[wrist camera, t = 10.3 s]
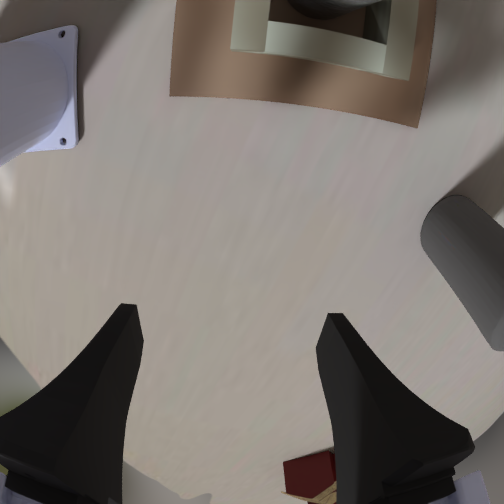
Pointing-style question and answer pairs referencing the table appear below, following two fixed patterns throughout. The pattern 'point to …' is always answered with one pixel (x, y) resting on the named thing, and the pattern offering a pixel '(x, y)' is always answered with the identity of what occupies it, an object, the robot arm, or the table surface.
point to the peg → (328, 7)
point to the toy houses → (312, 478)
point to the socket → (306, 55)
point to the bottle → (469, 260)
